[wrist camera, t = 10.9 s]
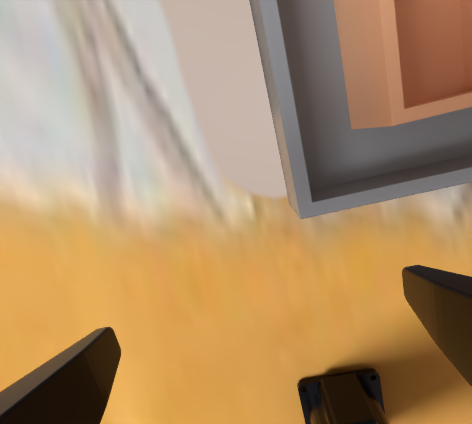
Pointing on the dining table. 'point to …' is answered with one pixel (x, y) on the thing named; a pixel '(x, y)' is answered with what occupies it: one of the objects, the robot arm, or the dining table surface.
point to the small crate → (404, 59)
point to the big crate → (344, 121)
